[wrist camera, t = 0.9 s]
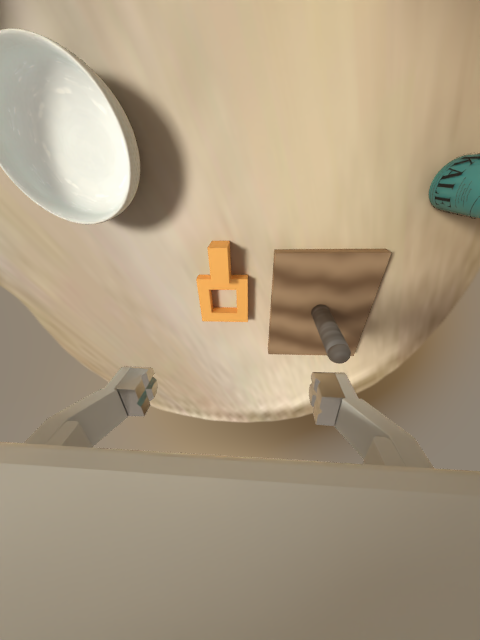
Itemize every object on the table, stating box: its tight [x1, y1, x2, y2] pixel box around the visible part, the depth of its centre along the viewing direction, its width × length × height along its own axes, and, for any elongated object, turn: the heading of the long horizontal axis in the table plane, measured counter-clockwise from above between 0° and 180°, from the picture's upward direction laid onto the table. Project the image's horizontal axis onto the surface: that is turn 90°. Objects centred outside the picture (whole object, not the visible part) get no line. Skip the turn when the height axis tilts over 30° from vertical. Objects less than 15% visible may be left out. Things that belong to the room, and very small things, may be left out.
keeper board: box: [268, 249, 391, 363], centre depth 37 cm, size 22×18×15 cm
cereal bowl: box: [0, 28, 140, 224], centre depth 28 cm, size 17×17×7 cm
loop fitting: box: [196, 241, 248, 322], centre depth 39 cm, size 15×9×4 cm, turn 1°
